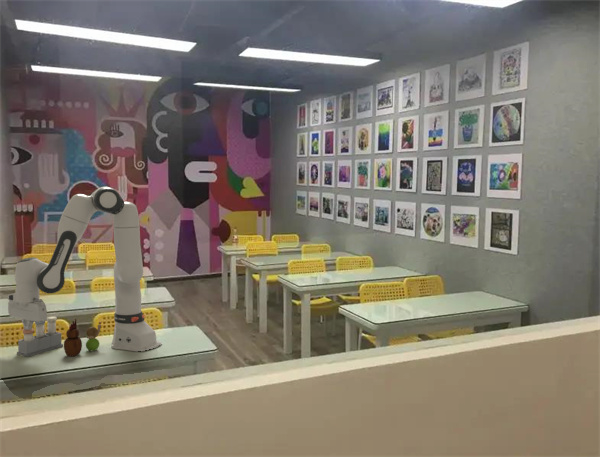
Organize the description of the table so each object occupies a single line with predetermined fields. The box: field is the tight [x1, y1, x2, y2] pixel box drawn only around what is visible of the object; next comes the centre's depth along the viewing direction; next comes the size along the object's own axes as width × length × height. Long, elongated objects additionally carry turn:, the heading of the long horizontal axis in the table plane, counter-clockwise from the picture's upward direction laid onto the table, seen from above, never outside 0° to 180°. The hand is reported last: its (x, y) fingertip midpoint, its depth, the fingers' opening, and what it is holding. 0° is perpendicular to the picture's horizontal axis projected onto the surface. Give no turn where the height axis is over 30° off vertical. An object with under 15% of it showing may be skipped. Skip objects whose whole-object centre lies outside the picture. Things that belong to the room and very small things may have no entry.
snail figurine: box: [85, 321, 102, 352], centre depth 222 cm, size 5×6×12 cm
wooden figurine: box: [63, 318, 83, 357], centre depth 214 cm, size 7×6×15 cm
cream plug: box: [45, 316, 58, 335], centre depth 225 cm, size 4×4×8 cm
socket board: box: [16, 331, 64, 358], centre depth 220 cm, size 7×17×6 cm, turn 153°
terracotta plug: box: [22, 328, 35, 342], centre depth 215 cm, size 4×4×8 cm
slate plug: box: [34, 321, 46, 339], centre depth 220 cm, size 4×4×8 cm
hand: (27, 329), depth 215 cm, fingers closed
